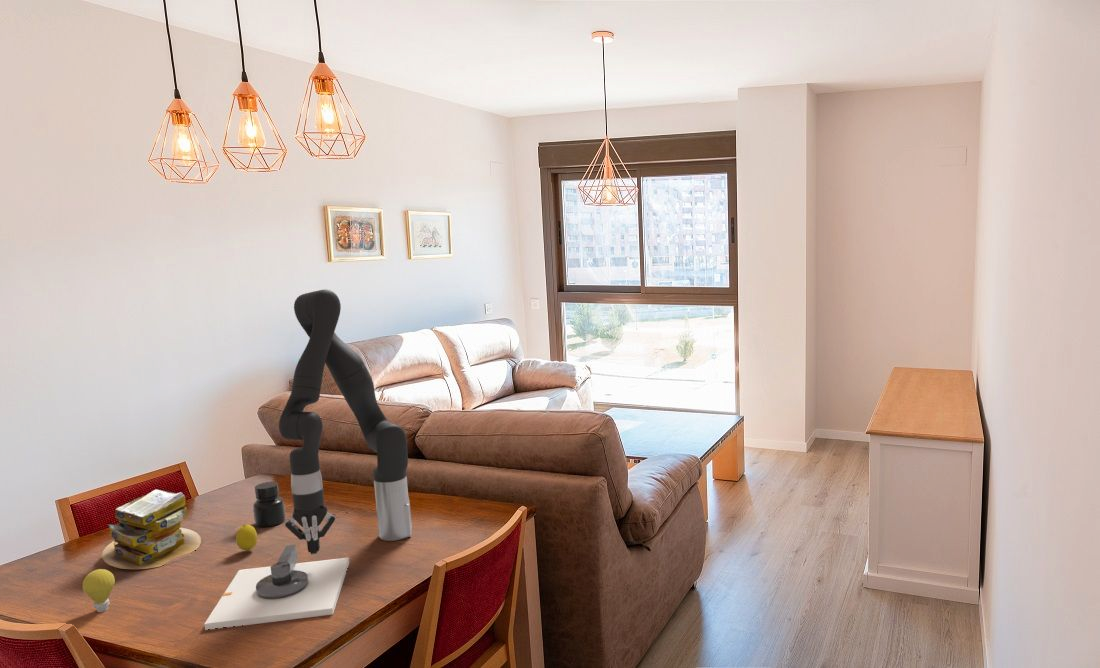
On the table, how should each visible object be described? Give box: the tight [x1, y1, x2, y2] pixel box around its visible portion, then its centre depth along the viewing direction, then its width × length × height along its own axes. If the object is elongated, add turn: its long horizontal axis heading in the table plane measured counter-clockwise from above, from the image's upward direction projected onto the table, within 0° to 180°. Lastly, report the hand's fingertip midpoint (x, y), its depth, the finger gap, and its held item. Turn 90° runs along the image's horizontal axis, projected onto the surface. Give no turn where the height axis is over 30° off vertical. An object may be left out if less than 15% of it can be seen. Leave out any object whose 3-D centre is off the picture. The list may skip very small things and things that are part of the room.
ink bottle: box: [252, 481, 286, 528], centre depth 230 cm, size 10×9×12 cm
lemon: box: [235, 523, 258, 552], centre depth 209 cm, size 6×6×8 cm
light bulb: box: [82, 568, 116, 613], centre depth 179 cm, size 7×7×10 cm
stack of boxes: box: [101, 489, 202, 570], centre depth 212 cm, size 25×25×17 cm
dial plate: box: [204, 557, 350, 631], centre depth 182 cm, size 28×28×2 cm
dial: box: [256, 544, 308, 599], centre depth 184 cm, size 18×12×6 cm, turn 8°
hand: (314, 552), depth 191 cm, fingers closed
